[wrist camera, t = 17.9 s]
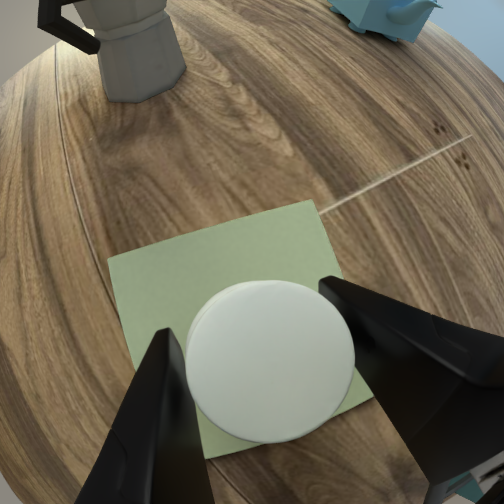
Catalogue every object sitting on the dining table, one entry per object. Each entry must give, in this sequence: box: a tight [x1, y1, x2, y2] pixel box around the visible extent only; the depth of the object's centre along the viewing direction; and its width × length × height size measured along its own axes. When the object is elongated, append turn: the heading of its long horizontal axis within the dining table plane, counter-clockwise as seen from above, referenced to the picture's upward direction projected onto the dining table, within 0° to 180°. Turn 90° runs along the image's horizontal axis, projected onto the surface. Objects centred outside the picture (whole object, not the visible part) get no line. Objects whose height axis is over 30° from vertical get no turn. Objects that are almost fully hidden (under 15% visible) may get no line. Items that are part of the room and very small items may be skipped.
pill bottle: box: [185, 280, 355, 443], centre depth 10 cm, size 5×5×8 cm
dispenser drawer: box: [423, 471, 484, 504], centre depth 10 cm, size 19×11×7 cm, turn 91°
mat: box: [107, 199, 374, 459], centre depth 15 cm, size 14×14×1 cm
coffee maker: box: [37, 0, 186, 103], centre depth 12 cm, size 15×9×18 cm, turn 168°
